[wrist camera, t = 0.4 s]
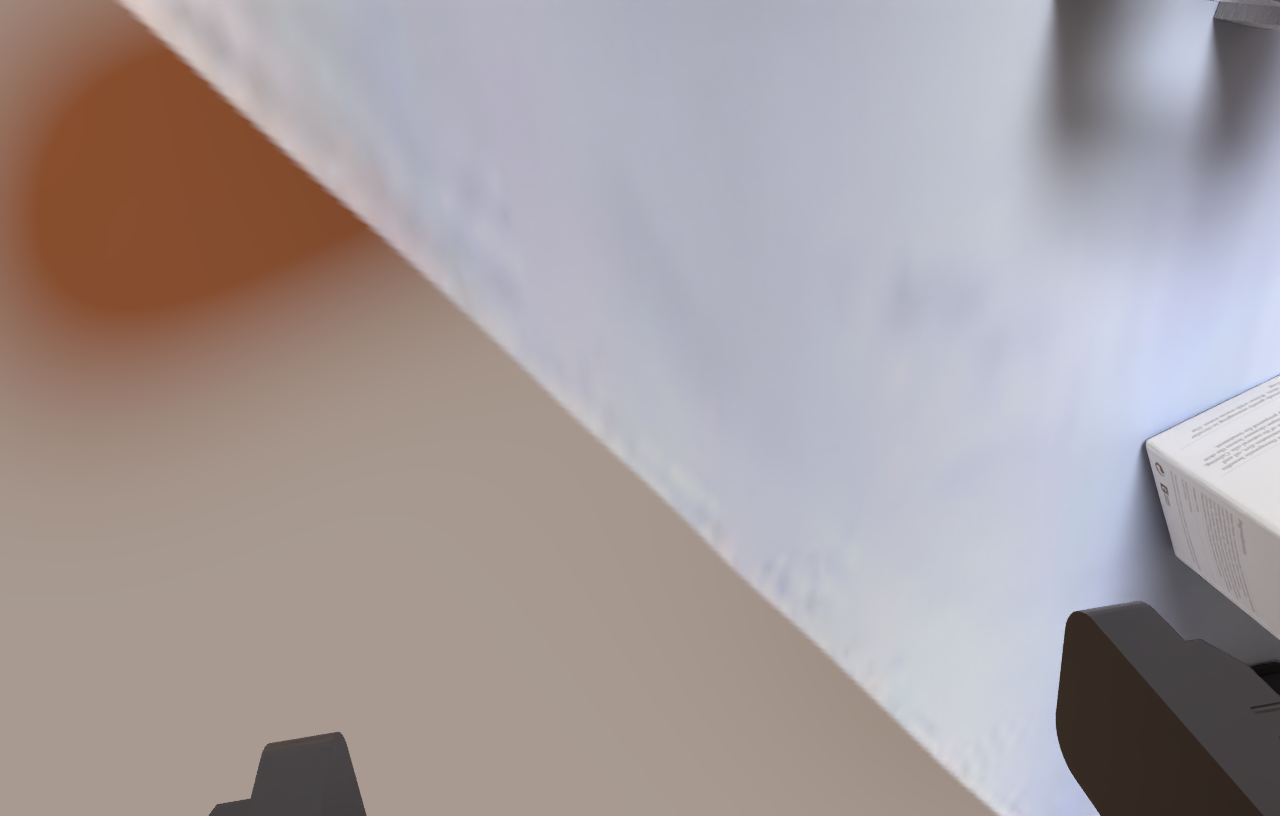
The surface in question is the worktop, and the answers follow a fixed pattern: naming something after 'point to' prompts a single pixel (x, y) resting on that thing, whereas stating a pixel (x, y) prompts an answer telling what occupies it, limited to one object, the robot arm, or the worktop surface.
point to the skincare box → (1227, 497)
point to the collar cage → (1250, 12)
